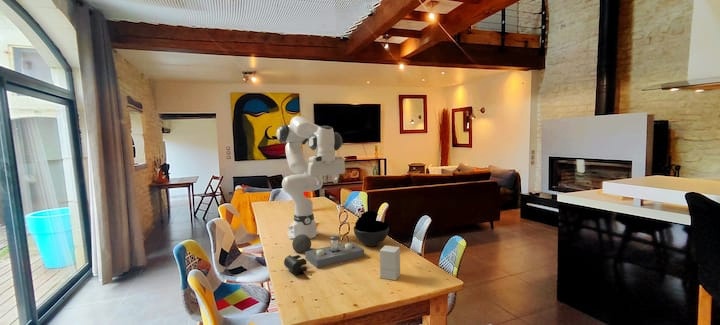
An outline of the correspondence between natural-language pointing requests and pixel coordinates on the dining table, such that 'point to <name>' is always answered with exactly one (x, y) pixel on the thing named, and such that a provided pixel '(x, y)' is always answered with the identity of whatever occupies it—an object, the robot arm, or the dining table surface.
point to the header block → (334, 255)
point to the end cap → (295, 264)
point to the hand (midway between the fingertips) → (327, 183)
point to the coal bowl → (370, 229)
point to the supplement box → (390, 262)
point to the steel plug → (334, 244)
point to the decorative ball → (301, 243)
